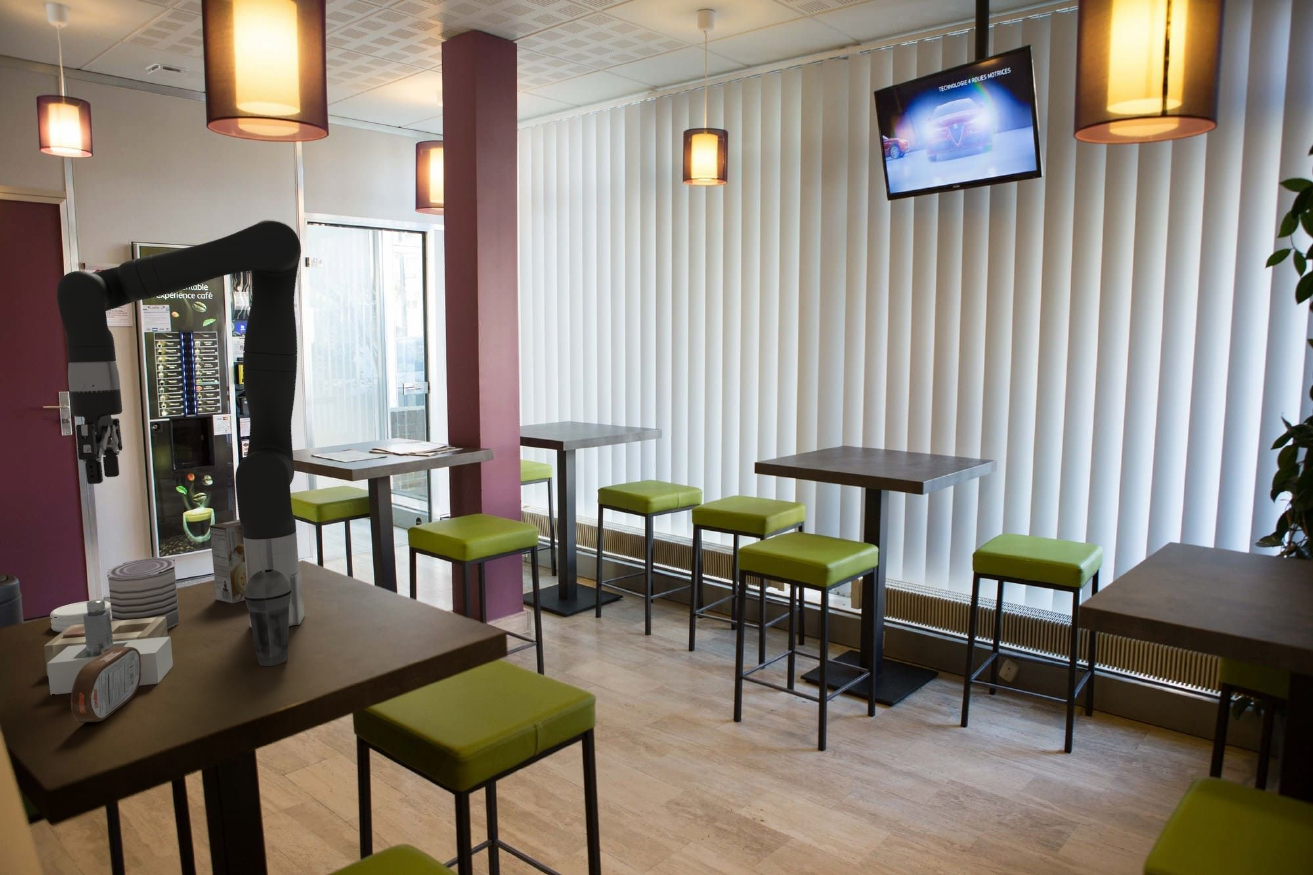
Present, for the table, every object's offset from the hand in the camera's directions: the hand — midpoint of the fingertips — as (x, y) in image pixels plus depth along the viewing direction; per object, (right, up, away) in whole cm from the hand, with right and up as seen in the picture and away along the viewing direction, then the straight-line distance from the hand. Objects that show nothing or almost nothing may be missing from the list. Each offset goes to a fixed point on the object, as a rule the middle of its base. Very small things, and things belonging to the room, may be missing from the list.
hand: (104, 480), depth 155 cm
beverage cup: (+33, -30, -8) cm, 46 cm away
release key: (0, -30, -6) cm, 30 cm away
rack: (+11, -31, -15) cm, 36 cm away
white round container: (-14, -29, +15) cm, 36 cm away
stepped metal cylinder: (+9, -31, -15) cm, 36 cm away
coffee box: (+10, -26, +31) cm, 42 cm away
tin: (+18, -33, -26) cm, 45 cm away
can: (0, -29, +13) cm, 31 cm away
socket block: (+4, -30, -5) cm, 31 cm away
